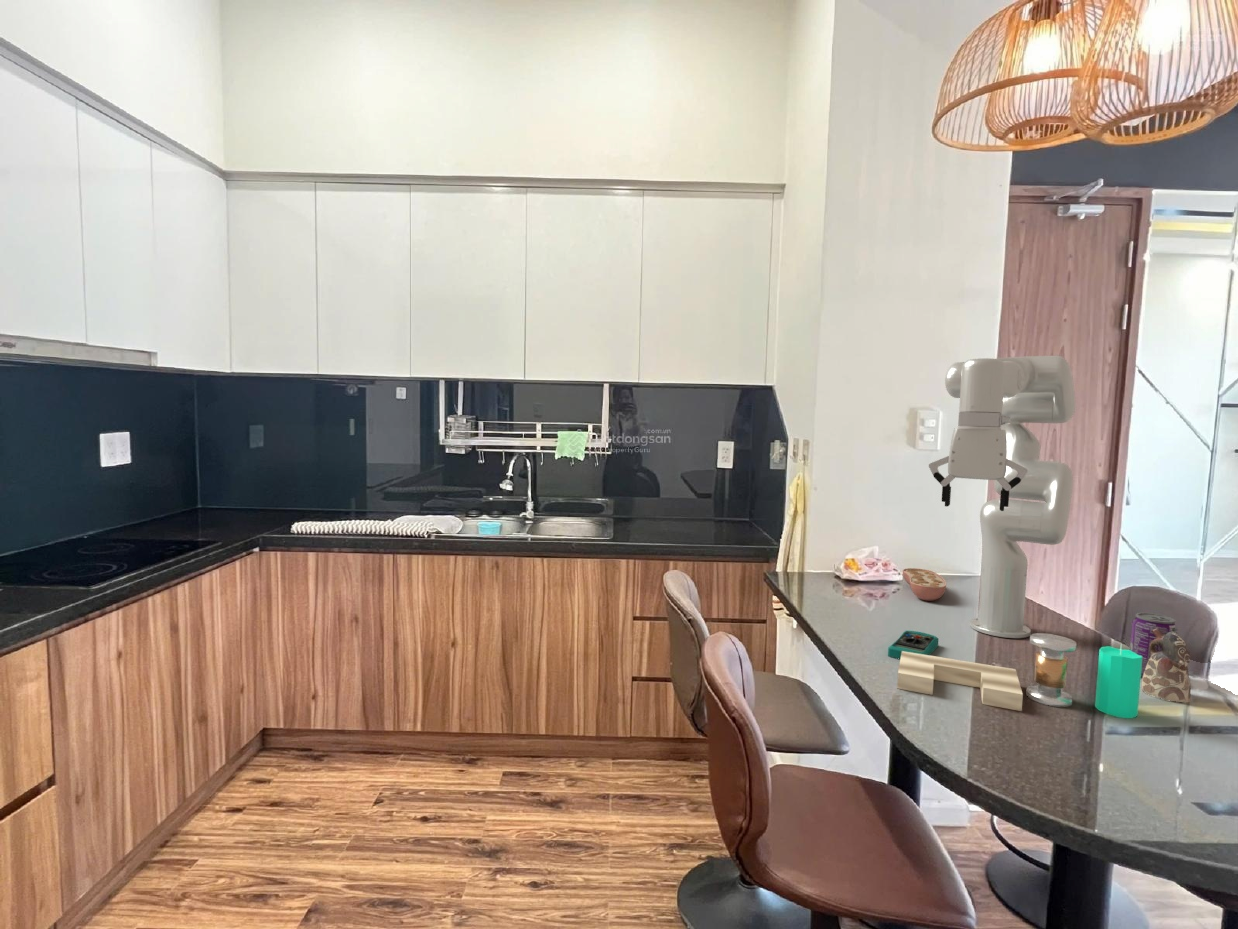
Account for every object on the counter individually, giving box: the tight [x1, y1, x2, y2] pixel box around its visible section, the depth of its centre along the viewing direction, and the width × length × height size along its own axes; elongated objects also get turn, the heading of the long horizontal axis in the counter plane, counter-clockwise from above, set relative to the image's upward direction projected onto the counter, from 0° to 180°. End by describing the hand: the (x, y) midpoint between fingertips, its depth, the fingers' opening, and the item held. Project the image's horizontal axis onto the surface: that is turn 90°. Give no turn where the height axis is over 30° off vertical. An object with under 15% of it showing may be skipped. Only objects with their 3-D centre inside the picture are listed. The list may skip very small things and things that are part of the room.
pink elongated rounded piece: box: [902, 567, 947, 602], centre depth 192 cm, size 23×10×5 cm, turn 165°
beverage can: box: [1129, 612, 1179, 678], centre depth 132 cm, size 7×7×12 cm
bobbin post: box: [1025, 632, 1077, 708], centre depth 120 cm, size 7×7×11 cm
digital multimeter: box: [887, 630, 939, 660], centre depth 144 cm, size 7×15×3 cm, turn 144°
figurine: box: [1141, 628, 1192, 703], centre depth 123 cm, size 7×7×12 cm
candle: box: [1094, 643, 1142, 719], centre depth 116 cm, size 6×6×12 cm
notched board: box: [896, 651, 1024, 712], centre depth 125 cm, size 13×20×3 cm, turn 64°
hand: (974, 508), depth 133 cm, fingers open, 9 cm apart
